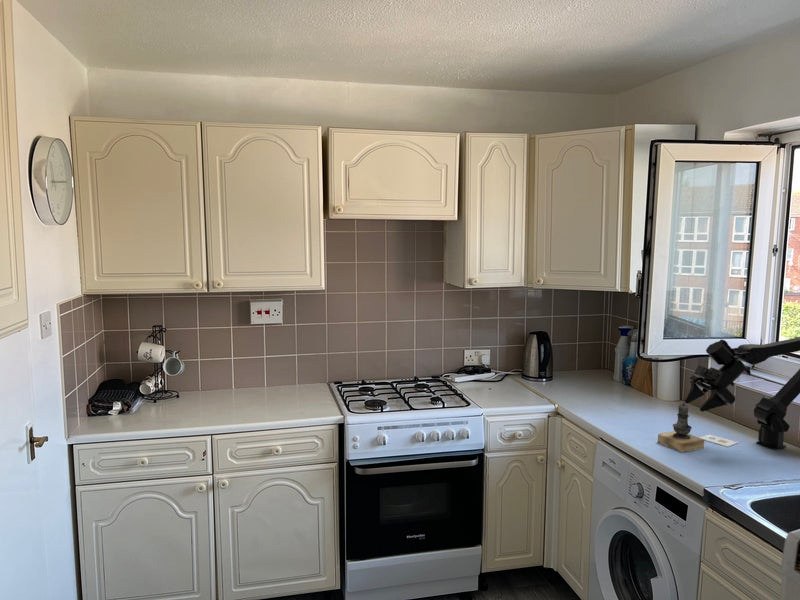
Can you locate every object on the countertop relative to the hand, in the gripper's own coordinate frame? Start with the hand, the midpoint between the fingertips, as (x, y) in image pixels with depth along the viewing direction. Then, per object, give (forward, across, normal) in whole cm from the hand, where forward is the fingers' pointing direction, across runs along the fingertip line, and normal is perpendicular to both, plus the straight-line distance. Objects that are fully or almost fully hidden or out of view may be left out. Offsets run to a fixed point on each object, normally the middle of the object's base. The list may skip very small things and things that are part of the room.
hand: (693, 406), depth 194 cm
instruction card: (+1, -4, +18) cm, 19 cm away
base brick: (+12, 0, +7) cm, 14 cm away
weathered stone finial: (+10, 0, +5) cm, 11 cm away
